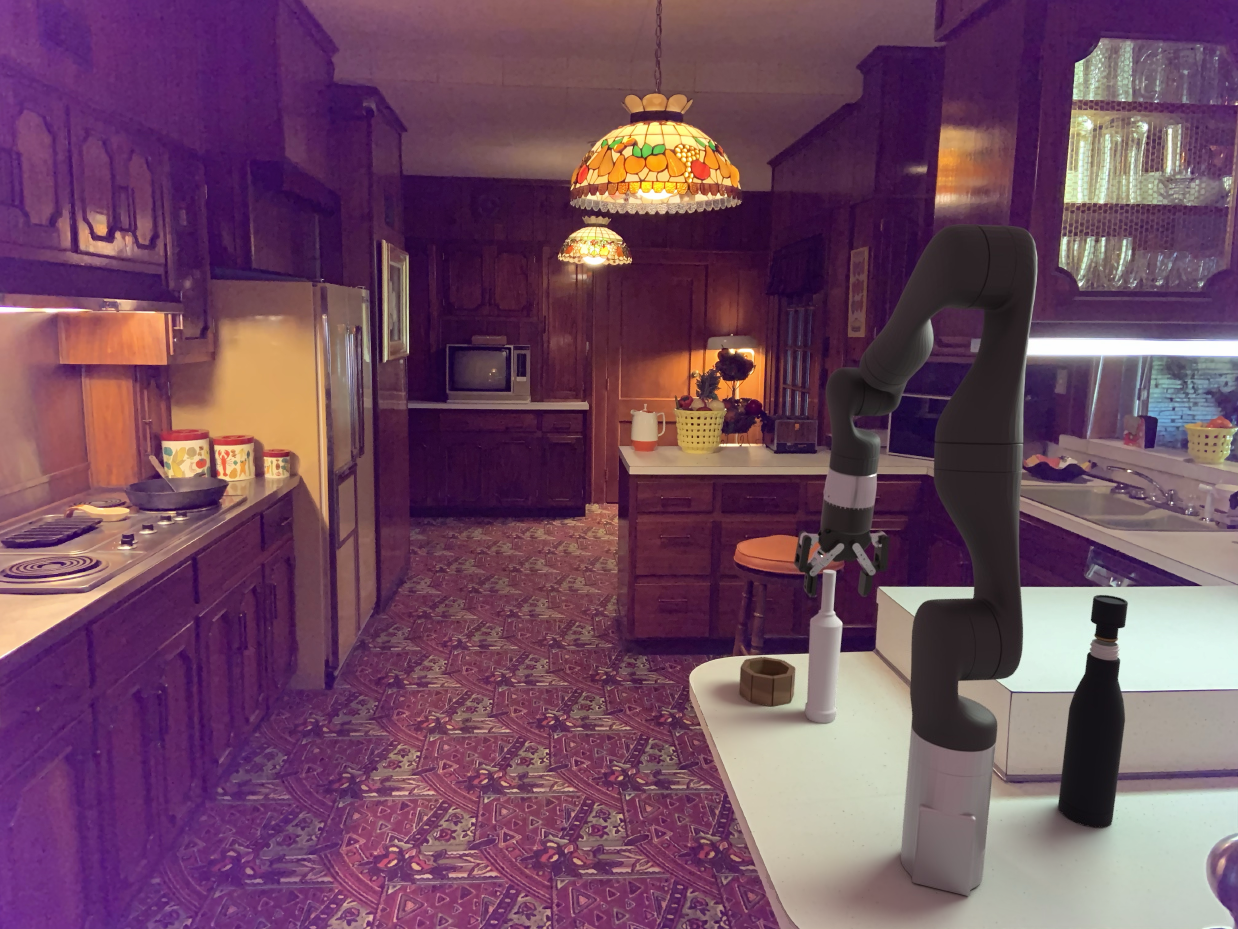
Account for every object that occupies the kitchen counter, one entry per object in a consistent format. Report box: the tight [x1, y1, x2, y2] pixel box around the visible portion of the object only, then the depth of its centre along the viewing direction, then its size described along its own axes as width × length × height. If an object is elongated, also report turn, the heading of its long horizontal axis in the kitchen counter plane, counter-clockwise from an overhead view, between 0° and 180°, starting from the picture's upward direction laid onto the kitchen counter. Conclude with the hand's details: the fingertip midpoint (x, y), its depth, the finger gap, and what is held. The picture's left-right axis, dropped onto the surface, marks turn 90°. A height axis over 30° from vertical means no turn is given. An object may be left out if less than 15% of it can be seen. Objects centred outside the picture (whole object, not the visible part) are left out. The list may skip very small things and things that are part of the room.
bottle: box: [804, 569, 843, 724], centre depth 137 cm, size 5×5×25 cm
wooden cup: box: [738, 656, 796, 707], centre depth 147 cm, size 9×9×5 cm
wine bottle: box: [1057, 594, 1129, 828], centre depth 110 cm, size 6×6×30 cm
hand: (836, 594), depth 132 cm, fingers open, 8 cm apart
